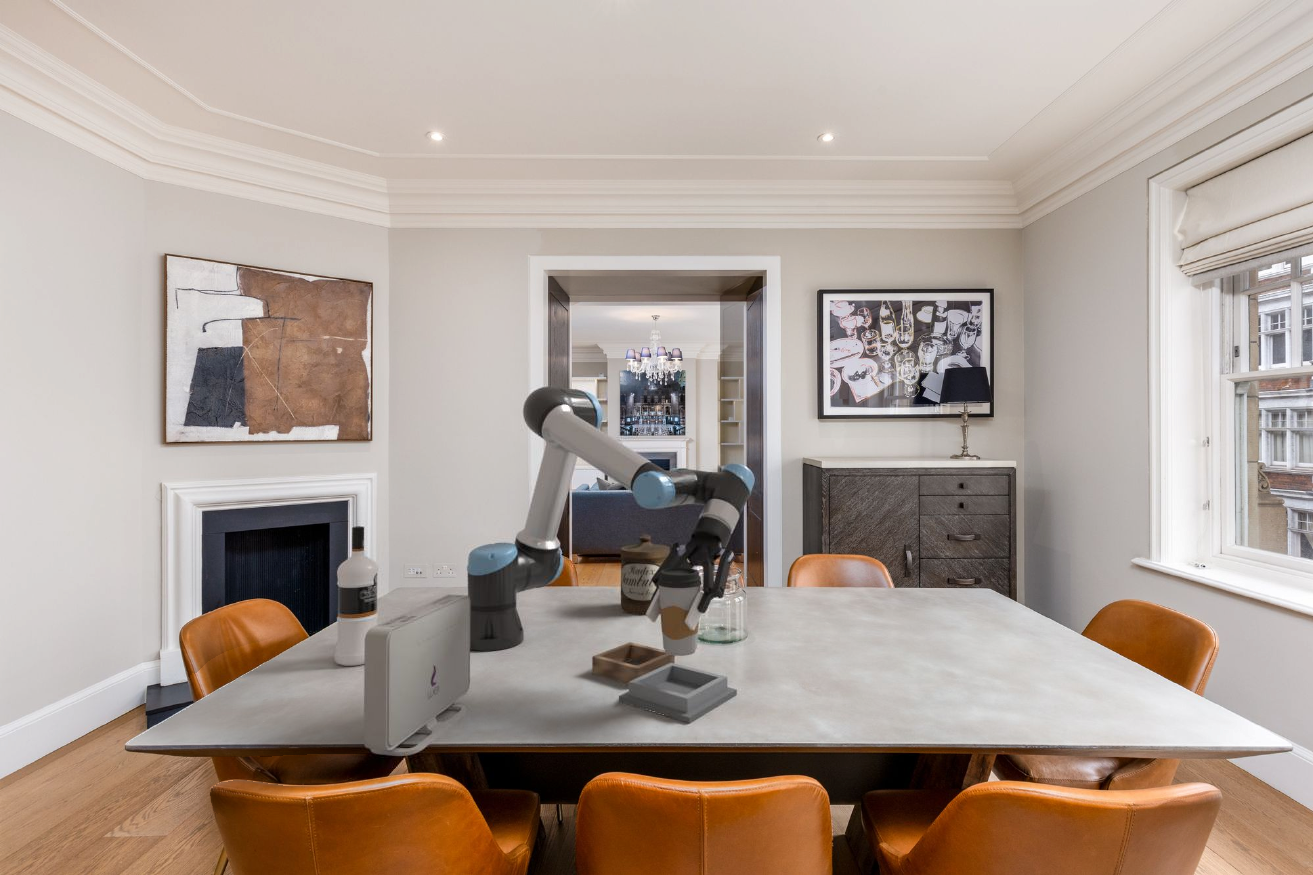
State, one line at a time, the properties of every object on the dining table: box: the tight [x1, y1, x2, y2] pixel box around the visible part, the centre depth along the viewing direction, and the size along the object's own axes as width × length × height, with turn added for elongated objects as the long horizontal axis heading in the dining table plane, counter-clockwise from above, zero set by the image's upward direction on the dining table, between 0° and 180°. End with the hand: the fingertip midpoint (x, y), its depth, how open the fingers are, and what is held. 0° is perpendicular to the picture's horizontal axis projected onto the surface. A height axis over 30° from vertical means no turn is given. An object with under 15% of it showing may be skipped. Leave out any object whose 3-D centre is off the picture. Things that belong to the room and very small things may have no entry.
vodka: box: [333, 525, 379, 667], centre depth 142 cm, size 9×9×30 cm
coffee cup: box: [658, 568, 703, 657], centre depth 120 cm, size 8×8×15 cm
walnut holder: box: [591, 641, 676, 685], centre depth 135 cm, size 12×12×4 cm
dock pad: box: [618, 663, 738, 724], centre depth 120 cm, size 16×16×4 cm
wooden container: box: [620, 533, 671, 616], centre depth 188 cm, size 15×15×22 cm
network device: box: [363, 594, 471, 757], centre depth 107 cm, size 26×9×20 cm, turn 168°
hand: (669, 621), depth 118 cm, fingers closed on coffee cup, 8 cm apart
